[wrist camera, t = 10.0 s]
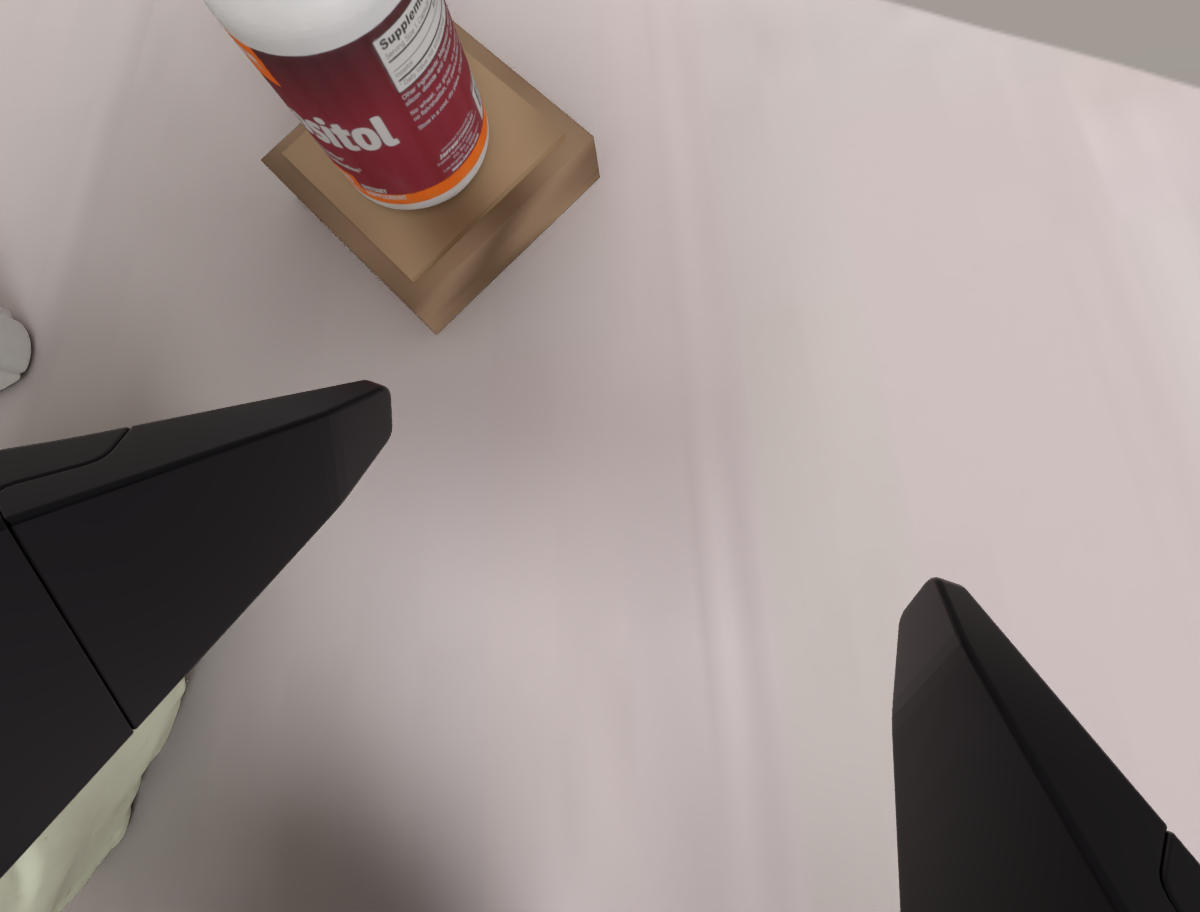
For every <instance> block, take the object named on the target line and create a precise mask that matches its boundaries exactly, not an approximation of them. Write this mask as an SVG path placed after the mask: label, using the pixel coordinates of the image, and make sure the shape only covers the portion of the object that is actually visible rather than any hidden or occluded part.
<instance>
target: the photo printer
mask: <svg viewBox="0 0 1200 912" xmlns="http://www.w3.org/2000/svg"><path fill="white" fill-rule="evenodd" d="M30 356H31V342H30V337H29V335H28V332H27V330H26V329H25V328H24V326H23V325H22V324H21V323H20V322H18V321H16V320H14V319H12V317H11V313H10V312H9V311H8V310H6V309H3V308H1V307H0V390H2V389H4V388H6V387H8V386H9V385H11V384H13V383H14V382H16V381H18V380H19V379H20V374H21V373H23V372H25V371H26V369H27V368H28V365H29V361H30Z"/></svg>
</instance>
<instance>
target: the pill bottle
mask: <svg viewBox="0 0 1200 912" xmlns="http://www.w3.org/2000/svg"><path fill="white" fill-rule="evenodd" d="M204 1H205V3H206V5H207V6H208V8H209V9H210V10H211V12H212V13H213V14H214V16H215V17H216V18H217V19H218V21H219V22H220V23H221V25H222V26H223V27H224V28H225V30H226V31H227V32H228V33H229V35H230V36H231V37H232V38H233V39H234V41H235V42H236V43H237V44H238V46H239V47H240V48H241V49H242V51H243V52H244V53H245V54H246V55H247V57H248V58H249V59H250V60H251V62H252V63H253V64H254V65H255V66H256V68H257V69H258V70H259V71H260V72H261V74H262V75H263V76H264V77H265V79H266V80H267V81H268V82H269V83H270V85H271V86H272V87H273V88H274V90H275V91H276V92H277V93H278V95H279V96H280V97H281V98H282V100H283V101H284V102H285V103H286V105H287V106H288V107H289V108H290V109H291V111H292V112H293V113H294V114H295V116H296V117H297V118H298V119H299V120H300V122H301V123H302V124H303V125H304V127H305V128H306V129H307V130H308V132H309V133H310V134H311V135H312V136H313V138H314V139H315V140H316V142H317V143H318V144H319V145H320V146H321V148H322V149H323V150H324V151H325V153H326V154H327V155H328V157H329V158H330V159H331V160H332V162H333V163H334V164H335V165H336V167H337V168H338V169H339V170H340V171H341V173H342V174H343V175H344V176H345V178H346V179H347V180H348V181H349V182H350V183H351V184H352V185H353V187H354V188H355V189H356V190H357V191H358V192H360V193H361V194H362V195H364V196H365V197H366V198H368V199H369V200H371V201H373V202H375V203H377V204H379V205H381V206H384V207H387V208H392V209H399V210H415V209H423V208H427V207H431V206H434V205H437V204H440V203H442V202H444V201H446V200H448V199H450V198H452V197H454V196H455V195H457V194H458V193H459V192H460V191H461V190H463V189H464V188H465V187H466V186H467V185H468V183H469V182H470V181H471V180H472V179H473V177H474V176H475V175H476V173H477V171H478V170H479V168H480V166H481V164H482V162H483V160H484V157H485V154H486V151H487V147H488V140H489V126H488V119H487V115H486V111H485V108H484V104H483V101H482V98H481V96H480V93H479V91H478V88H477V85H476V83H475V80H474V77H473V75H472V72H471V69H470V66H469V64H468V61H467V58H466V56H465V53H464V50H463V48H462V45H461V42H460V40H459V37H458V34H457V32H456V29H455V27H454V24H453V21H452V19H451V16H450V13H449V10H448V8H447V5H446V3H445V0H204Z"/></svg>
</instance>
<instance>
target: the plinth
mask: <svg viewBox="0 0 1200 912" xmlns="http://www.w3.org/2000/svg"><path fill="white" fill-rule="evenodd" d="M452 21H453V20H452ZM453 24H454V27H455V29H456V32H457V34H458V37H459V40H460V42H461V45H462V48H463V50H464V53H465V56H466V58H467V61H468V64H469V66H470V69H471V72H472V75H473V77H474V80H475V83H476V85H477V88H478V91H479V93H480V96H481V98H482V101H483V104H484V108H485V111H486V115H487V119H488V126H489V140H488V147H487V151H486V154H485V157H484V160H483V162H482V164H481V166H480V168H479V170H478V171H477V173H476V175H475V176H474V177H473V179H472V180H471V181H470V182H469V183H468V185H467V186H466V187H465V188H464V189H463V190H461V191H460V192H459V193H458V194H457V195H455V196H454V197H452V198H450V199H448V200H446V201H444V202H442V203H440V204H437V205H434V206H431V207H427V208H423V209H415V210H399V209H392V208H387V207H384V206H381V205H379V204H377V203H375V202H373V201H371V200H369V199H368V198H366V197H365V196H364V195H362V194H361V193H360V192H358V191H357V190H356V189H355V188H354V187H353V185H352V184H351V183H350V182H349V181H348V180H347V179H346V178H345V176H344V175H343V174H342V173H341V171H340V170H339V169H338V168H337V167H336V165H335V164H334V163H333V162H332V160H331V159H330V158H329V157H328V155H327V154H326V153H325V151H324V150H323V149H322V148H321V146H320V145H319V144H318V143H317V142H316V140H315V139H314V138H313V136H312V135H311V134H310V133H309V132H308V130H307V129H306V128H305V127H304V125H303V124H302V123H300V124H299V125H298V126H297V127H296V128H295V129H294V130H293V131H292V132H291V133H290V134H288V135H287V136H286V137H285V138H284V139H283V140H282V141H281V142H280V143H279V144H278V145H276V146H275V147H274V148H273V149H272V150H271V151H270V152H269V153H268V154H267V155H266V156H265V157H263V158H262V159H261V161H262V162H263V163H264V164H265V165H266V166H267V167H268V168H269V169H270V170H271V171H272V172H273V173H274V174H275V175H276V176H277V177H278V178H279V179H280V180H281V181H282V182H283V183H284V184H285V185H286V186H287V187H288V188H289V189H290V190H291V191H292V192H293V193H294V194H295V195H296V196H297V197H298V198H299V199H300V200H301V201H302V202H303V203H304V204H305V205H306V206H307V207H308V208H309V209H310V210H311V211H312V212H313V213H314V214H315V215H316V216H317V217H318V218H319V219H320V220H321V221H322V222H323V223H324V224H325V225H326V226H327V227H328V228H329V229H330V230H331V231H332V232H333V233H334V234H335V235H336V236H337V237H338V238H339V239H340V240H341V241H342V242H343V243H344V244H345V245H346V246H347V247H348V248H349V249H350V250H351V251H352V252H353V253H354V254H355V255H356V256H357V257H358V258H359V259H360V260H361V261H362V262H363V263H364V264H366V265H367V266H368V267H369V268H370V269H371V270H372V271H373V272H374V273H375V274H376V275H377V276H378V277H379V278H380V279H381V280H382V281H383V282H384V283H385V284H386V285H387V286H388V287H389V288H390V289H391V290H392V291H393V292H394V293H395V294H396V295H397V296H398V297H399V298H400V299H401V300H402V301H403V302H404V303H405V304H406V305H407V306H408V307H409V308H410V309H411V310H412V311H413V312H414V313H415V314H416V315H417V316H418V317H419V318H420V319H421V320H422V321H423V322H424V323H425V324H426V325H427V326H428V327H429V328H430V329H431V330H432V331H433V332H434V333H435V334H436V335H437V334H438V333H439V332H440V331H441V330H442V329H443V328H444V327H445V326H446V325H447V324H448V323H449V322H450V321H451V320H452V319H453V318H454V317H455V316H456V315H457V314H458V313H460V312H461V311H462V310H463V309H464V308H465V307H466V306H467V305H468V304H469V303H470V302H471V301H472V300H473V299H474V298H475V297H476V296H477V295H478V294H479V293H480V292H481V291H482V290H483V289H484V288H485V287H486V286H487V285H489V284H490V283H491V282H492V281H493V280H494V279H495V278H496V277H497V276H498V275H499V274H500V273H501V272H502V271H503V270H504V269H505V268H506V267H507V266H508V265H509V264H510V263H511V262H512V261H513V260H514V259H515V258H516V257H518V256H519V255H520V254H521V253H522V252H523V251H524V250H525V249H526V248H527V247H528V246H529V245H530V244H531V243H532V242H533V241H534V240H535V239H536V238H537V237H538V236H539V235H540V234H541V233H542V232H543V231H544V230H546V229H547V228H548V227H549V226H550V225H551V224H552V223H553V222H554V221H555V220H556V219H557V218H558V217H559V216H560V215H561V214H562V213H563V212H564V211H565V210H566V209H567V208H568V207H569V206H570V205H571V204H572V203H573V202H575V201H576V200H577V199H578V198H579V197H580V196H581V195H582V194H583V193H584V192H585V191H586V190H587V189H588V188H589V187H590V186H591V185H592V184H593V183H594V182H595V181H596V180H597V179H598V178H599V177H600V176H599V169H598V162H597V156H596V149H595V143H594V136H592V135H591V134H590V133H589V132H587V131H586V130H585V129H584V128H583V127H581V126H580V125H579V124H578V123H577V122H575V121H574V120H573V119H572V118H570V117H569V116H568V115H567V114H566V113H564V112H563V111H562V110H561V109H560V108H558V107H557V106H556V105H555V104H553V103H552V102H551V101H550V100H549V99H547V98H546V97H545V96H544V95H542V94H541V93H540V92H539V91H538V90H536V89H535V88H534V87H533V86H532V85H530V84H529V83H528V82H527V81H525V80H524V79H523V78H522V77H521V76H519V75H518V74H517V73H516V72H515V71H513V70H512V69H511V68H510V67H508V66H507V65H506V64H505V63H504V62H502V61H501V60H500V59H499V58H497V57H496V56H495V55H494V54H493V53H491V52H490V51H489V50H488V49H487V48H485V47H484V46H483V45H482V44H480V43H479V42H478V41H477V40H476V39H474V38H473V37H472V36H471V35H470V34H468V33H467V32H466V31H465V30H463V29H462V28H461V27H460V26H459V25H457V24H456V23H455V22H454V21H453Z"/></svg>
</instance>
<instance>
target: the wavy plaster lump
mask: <svg viewBox="0 0 1200 912" xmlns="http://www.w3.org/2000/svg"><path fill="white" fill-rule="evenodd" d="M187 682H188V681H187ZM187 682H186V683H187ZM186 683H185V677H184V678H183V679H182V680H181V681H180V682H179V683H178V684H177V685H176V687H175V688H174V689H173V690H172V691H171V692H170V693H169V694H168V695H167V696H166V698H165V699H164V700H163V701H162V702H161V703H160V704H159V705H158V706H157V707H156V708H155V710H154V711H153V712H152V713H151V714H150V715H149V716H148V717H147V718H146V719H145V721H144V722H143V723H142V724H141V725H140V726H139V727H138V728H137V729H135V730H133V731H134V733H133V734H132V735H131V736H130V738H129V739H128V740H127V741H126V742H125V743H124V744H123V745H122V746H121V747H120V748H119V750H118V751H117V752H116V753H115V754H114V755H113V756H112V757H111V758H110V759H109V761H108V762H107V763H106V764H105V765H104V766H103V767H102V768H101V769H100V770H99V771H98V773H97V774H96V775H95V776H94V777H93V778H92V779H91V780H90V781H89V782H88V784H87V785H86V786H85V787H84V788H83V789H82V790H81V791H80V792H79V793H78V794H77V796H76V797H75V798H74V799H73V800H72V801H71V802H70V803H69V804H68V805H67V807H66V808H65V809H64V810H63V811H62V812H61V813H60V814H59V815H58V816H57V817H56V819H55V820H54V821H53V822H52V823H51V824H50V825H49V826H48V827H47V828H46V829H45V831H44V832H43V833H42V834H41V835H40V836H39V837H38V838H37V839H36V840H35V842H34V843H33V844H32V845H31V846H30V847H29V848H28V849H27V850H26V851H25V853H24V854H23V855H22V856H21V857H20V858H19V859H18V860H17V861H16V862H15V864H14V865H13V866H12V867H11V868H10V869H9V870H8V871H7V872H6V873H5V874H4V876H3V877H2V878H1V879H0V912H61V911H62V910H63V909H64V908H65V907H66V906H67V905H68V904H69V902H70V901H71V900H72V899H73V898H74V897H75V896H76V895H77V894H78V893H79V892H80V891H81V890H82V888H83V887H84V886H85V884H86V883H87V881H88V880H89V878H90V876H91V875H92V874H93V872H94V871H95V869H96V868H97V866H98V865H99V864H100V863H101V862H102V861H103V860H104V859H105V857H106V855H107V853H109V852H110V851H111V850H112V849H113V848H114V847H115V846H116V845H117V844H118V843H119V842H120V841H121V839H122V838H123V836H124V834H125V832H126V829H127V826H128V823H129V819H130V815H131V803H132V802H133V800H134V798H135V796H136V794H137V791H138V789H139V787H140V784H141V775H142V774H143V773H144V771H145V770H146V768H147V767H148V765H149V763H150V762H151V761H152V760H153V759H154V758H155V757H156V756H157V755H158V754H159V752H160V751H161V749H162V747H163V746H164V744H165V742H166V740H167V738H168V736H169V733H170V731H171V729H172V726H173V724H174V721H175V718H176V716H177V713H178V709H179V707H180V703H181V696H182V695H183V694H184V691H185V688H186Z"/></svg>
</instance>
